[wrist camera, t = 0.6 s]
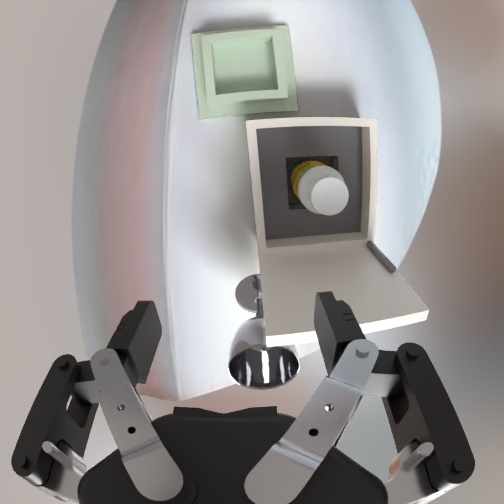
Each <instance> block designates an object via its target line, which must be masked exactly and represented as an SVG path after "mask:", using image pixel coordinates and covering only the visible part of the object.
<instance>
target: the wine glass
mask: <svg viewBox="0 0 504 504" xmlns="http://www.w3.org/2000/svg"><path fill="white" fill-rule="evenodd" d="M235 295H236V300H237V302H238V304H239V305H240V306H241V307H242V308H243V309H245V310H247V311H249V312H254V313H256V317H254V318H251V319H249V320H247V321H246V322H244V323H243V324H242V325H241V326H240V327H239V328H238V330H237V331H236V333H235V335H234V338H233V340H232V343H231V347H230V352H229V360H228V370H229V374H230V376H231V378H232V379H233V380H234V381H235V382H236V383H238V384H239V385H242V386H244V387H247V388H251V389H258V390H264V389H265V390H266V389H272V388H277V387H279V386H282V385H284V384H286V383H288V382H289V381H291V380H292V379H293V378H294V377H295V376H296V375H297V373H298V371H299V358H298V353H297V349H296V346H295V344H291V345H282V346H272V347H267V344H266V333H265V321H264V310H263V299H262V288H261V277H260V275H252V276H249V277H247V278H245V279H244V280H242V281H241V282H240V283H239V285H238V286H237V289H236V293H235Z"/></svg>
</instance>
